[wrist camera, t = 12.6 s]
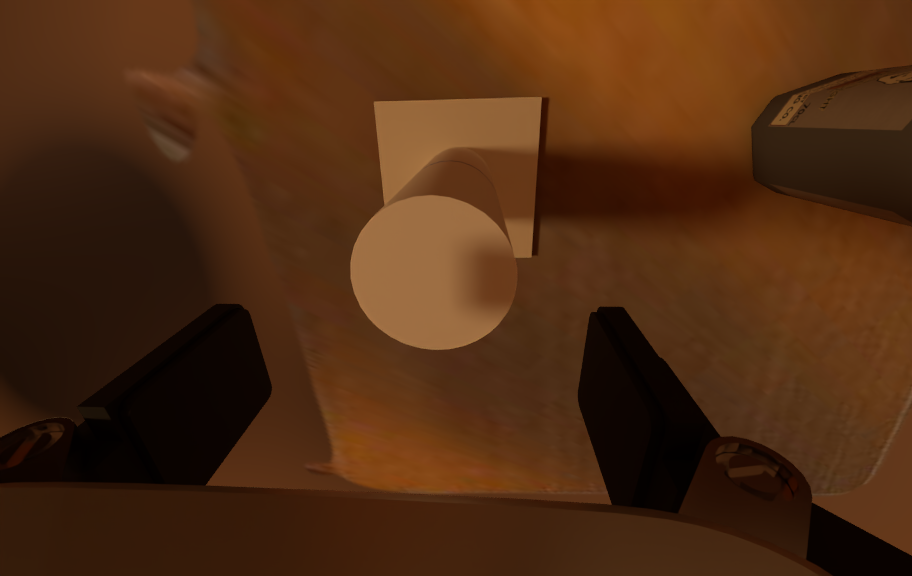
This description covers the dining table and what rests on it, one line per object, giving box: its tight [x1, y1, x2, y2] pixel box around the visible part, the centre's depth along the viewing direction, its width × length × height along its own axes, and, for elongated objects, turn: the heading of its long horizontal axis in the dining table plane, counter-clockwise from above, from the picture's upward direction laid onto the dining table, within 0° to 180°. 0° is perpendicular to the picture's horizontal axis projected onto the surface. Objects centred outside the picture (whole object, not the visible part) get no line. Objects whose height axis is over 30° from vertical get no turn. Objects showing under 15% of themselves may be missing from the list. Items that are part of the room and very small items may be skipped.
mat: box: [374, 97, 542, 258], centre depth 39 cm, size 16×16×1 cm
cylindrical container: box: [351, 147, 517, 350], centre depth 27 cm, size 7×7×25 cm
